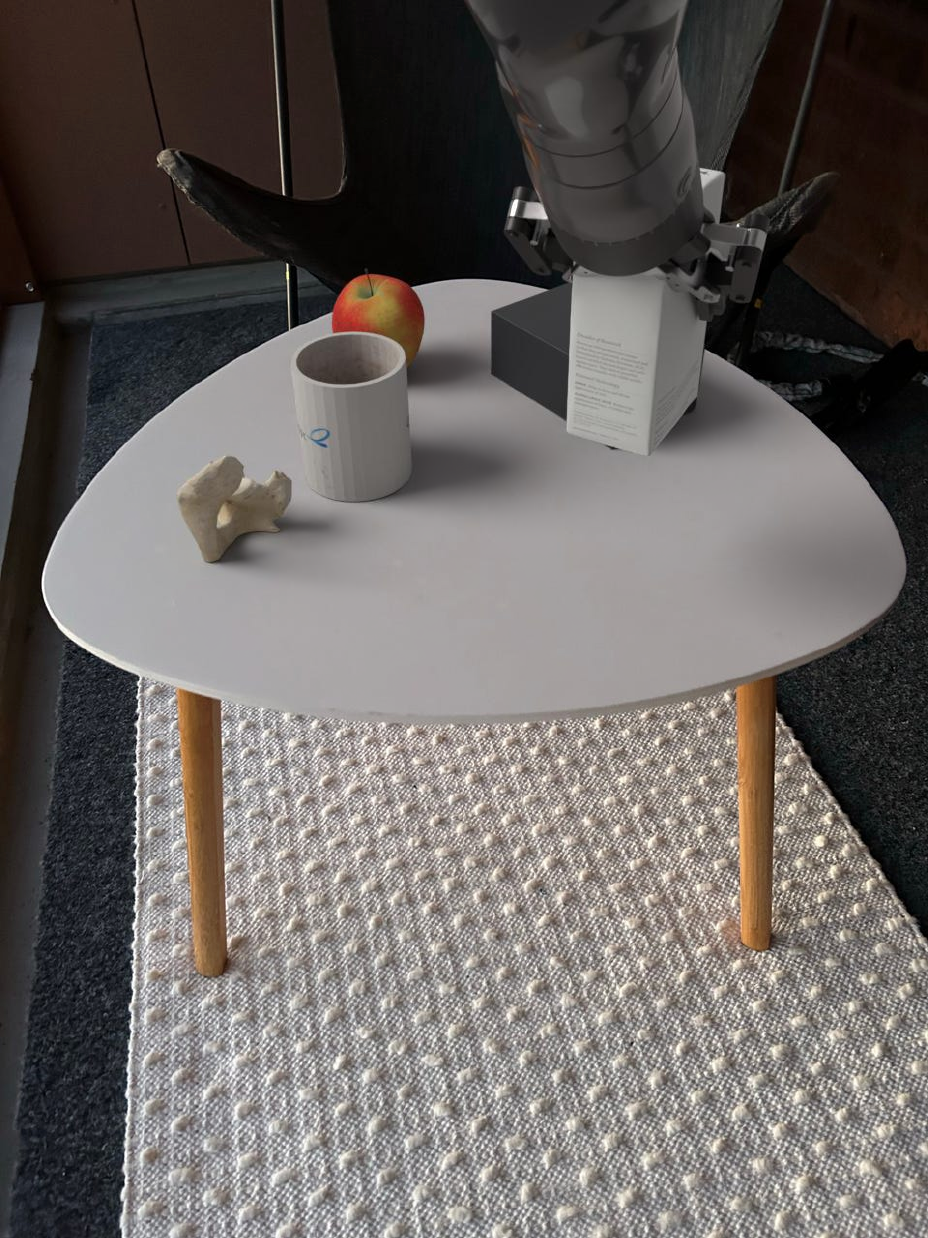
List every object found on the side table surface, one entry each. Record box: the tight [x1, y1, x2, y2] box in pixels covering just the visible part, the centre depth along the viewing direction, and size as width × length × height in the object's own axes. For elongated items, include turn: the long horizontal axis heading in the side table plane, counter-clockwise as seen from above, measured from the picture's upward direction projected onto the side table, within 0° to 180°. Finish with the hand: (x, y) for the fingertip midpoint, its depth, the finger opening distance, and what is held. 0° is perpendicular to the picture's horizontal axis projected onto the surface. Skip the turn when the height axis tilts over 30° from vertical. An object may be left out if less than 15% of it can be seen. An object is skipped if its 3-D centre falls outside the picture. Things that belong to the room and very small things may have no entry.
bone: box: [176, 454, 293, 563], centre depth 79 cm, size 9×6×10 cm
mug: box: [289, 332, 413, 503], centre depth 86 cm, size 12×9×10 cm
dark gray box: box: [490, 282, 706, 450], centre depth 94 cm, size 17×10×8 cm, turn 37°
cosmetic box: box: [566, 167, 726, 457], centre depth 64 cm, size 8×6×15 cm
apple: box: [331, 268, 426, 369], centre depth 96 cm, size 8×8×10 cm
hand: (652, 297), depth 66 cm, fingers closed on cosmetic box, 6 cm apart
